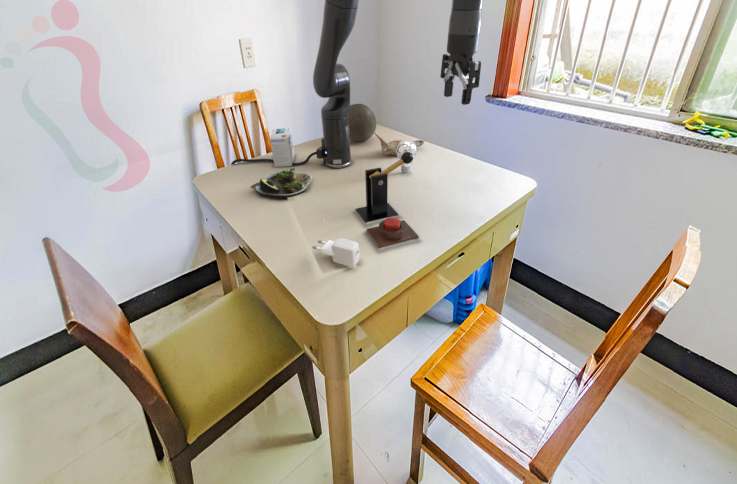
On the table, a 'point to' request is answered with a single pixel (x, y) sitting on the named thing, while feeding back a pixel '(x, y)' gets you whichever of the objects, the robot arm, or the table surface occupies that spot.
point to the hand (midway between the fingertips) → (456, 100)
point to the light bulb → (406, 147)
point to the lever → (397, 163)
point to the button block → (391, 234)
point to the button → (392, 224)
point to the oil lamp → (394, 145)
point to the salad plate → (283, 184)
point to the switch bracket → (376, 197)
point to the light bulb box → (282, 147)
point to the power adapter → (341, 251)
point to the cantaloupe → (361, 122)
